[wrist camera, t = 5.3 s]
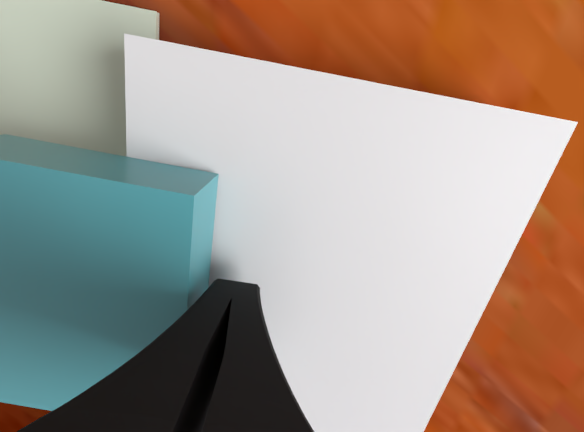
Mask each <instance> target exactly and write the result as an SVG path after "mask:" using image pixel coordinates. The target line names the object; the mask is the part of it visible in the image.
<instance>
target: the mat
mask: <svg viewBox="0 0 584 432" xmlns="http://www.w3.org/2000/svg"><path fill="white" fill-rule="evenodd" d="M124 33H125V34H130V35H135V36H140V37H145V38H150V39H156V40H159V13H158V12H156V11H151V10H147V9H142V8H137V7H132V6H127V5H122V4H117V3H112V2H107V1H102V0H0V135H2V134H8V135H13V136H19V137H24V138H29V139H35V140H40V141H45V142H51V143H56V144H62V145H67V146H72V147H78V148H83V149H88V150H94V151H99V152H104V153H110V154H115V155H120V156H126V157H127V151H126V101H125V52H124Z"/></svg>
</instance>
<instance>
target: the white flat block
mask: <svg viewBox="0 0 584 432" xmlns="http://www.w3.org/2000/svg"><path fill="white" fill-rule="evenodd" d="M124 52H125V101H126V151H127V157H131V158H136V159H142V160H147V161H153V162H158V163H163V164H169V165H174V166H179V167H185V168H190V169H195V170H201V171H206V172H211V173H217V174H219V176H218V187H217V198H216V208H215V219H214V230H213V241H212V252H211V263H210V274H209V285H208V287H209V286H210V285H211V284H212V283H213V281H215V280H216V279H218V278H219V279H226V280H232V281H239V282H246V283H252V284H257V285H258V286H259V287H260V298H261V305H262V310H263V315H264V318H265V322H266V326H267V329H268V332H269V336H270V339H271V342H272V345H273V348H274V350H275V353H276V355H277V358H278V361H279V363H280V366H281V368H282V370H283V373H284V375H285V377H286V380H287V382H288V384H289V386H290V388H291V390H292V392H293V394H294V396H295V398H296V400H297V402H298V404H299V406H300V408H301V410H302V411H303V413H304V415H305V417H306V419H307V420H308V422H309V424H310V425H311V427H312V429H313V430H314V432H424V430H425V428H426V426H427V424H428V422H429V420H430V418H431V416H432V414H433V412H434V410H435V407H436V405H437V403H438V401H439V399H440V397H441V395H442V393H443V391H444V389H445V387H446V385H447V383H448V381H449V379H450V377H451V375H452V373H453V371H454V369H455V367H456V365H457V363H458V361H459V359H460V357H461V355H462V353H463V351H464V349H465V347H466V345H467V343H468V341H469V339H470V337H471V335H472V333H473V331H474V329H475V327H476V325H477V323H478V321H479V319H480V317H481V315H482V313H483V311H484V309H485V307H486V305H487V303H488V301H489V299H490V297H491V295H492V293H493V291H494V289H495V287H496V285H497V283H498V281H499V279H500V277H501V275H502V273H503V271H504V269H505V267H506V265H507V263H508V261H509V259H510V257H511V255H512V253H513V251H514V249H515V247H516V245H517V243H518V241H519V239H520V237H521V235H522V233H523V231H524V229H525V227H526V225H527V223H528V221H529V219H530V217H531V215H532V213H533V211H534V209H535V207H536V205H537V203H538V201H539V199H540V197H541V195H542V193H543V191H544V189H545V187H546V185H547V183H548V181H549V179H550V177H551V175H552V173H553V171H554V169H555V167H556V165H557V163H558V161H559V159H560V157H561V155H562V153H563V151H564V149H565V147H566V145H567V143H568V141H569V139H570V137H571V135H572V133H573V131H574V129H575V127H576V125H577V123H578V122H574V121H569V120H563V119H558V118H553V117H548V116H543V115H538V114H533V113H528V112H523V111H518V110H512V109H507V108H502V107H497V106H492V105H487V104H482V103H477V102H472V101H467V100H461V99H456V98H451V97H446V96H441V95H436V94H431V93H426V92H421V91H416V90H410V89H405V88H400V87H395V86H390V85H385V84H380V83H375V82H370V81H365V80H360V79H354V78H349V77H344V76H339V75H334V74H329V73H324V72H319V71H314V70H309V69H303V68H298V67H293V66H288V65H283V64H278V63H273V62H268V61H263V60H258V59H252V58H247V57H242V56H237V55H232V54H227V53H222V52H217V51H212V50H207V49H201V48H196V47H191V46H186V45H181V44H176V43H171V42H166V41H161V40H156V39H150V38H145V37H140V36H135V35H130V34H125V33H124Z"/></svg>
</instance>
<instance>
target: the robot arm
mask: <svg viewBox="0 0 584 432" xmlns="http://www.w3.org/2000/svg"><path fill="white" fill-rule="evenodd" d="M17 432H314V430H313V429H312V427H311V425H310V424H309V422H308V420H307V419H306V417H305V415H304V413H303V411H302V410H301V408H300V406H299V404H298V402H297V400H296V398H295V396H294V394H293V392H292V390H291V388H290V386H289V384H288V382H287V380H286V377H285V375H284V373H283V370H282V368H281V366H280V363H279V361H278V358H277V355H276V353H275V350H274V348H273V345H272V342H271V339H270V336H269V332H268V329H267V326H266V322H265V318H264V315H263V310H262V305H261V298H260V287H259V286H258V285H257V284H252V283H246V282H239V281H232V280H226V279H219V278H218V279H216V280H215V281H213V283H212V284H211V285H210V286H209V287H208V289H207V290H206V291H205V292H204V293H203V294H202V295H201V296H200V298H199V299H198V300H197V301H196V302H195V303H194V304H193V305H192V306H191V307H190V308H189V309H188V310H187V311H186V312H185V313H184V314H183V315H182V316H181V317H180V318H179V319H178V320H176V321H175V322H174V323H173V324H172V325H171V326H170V327H169V328H168V329H166V330H165V331H164V332H163V333H162V334H161V335H159V336H158V337H157V338H156V339H155V340H154V341H153V342H151V343H150V344H149V345H148V346H146V347H145V348H144V349H143V350H141V351H140V352H139V353H138V354H136V355H135V356H134V357H132V358H131V359H130V360H128V361H127V362H126V363H124V364H123V365H122V366H120V367H119V368H118V369H116V370H115V371H113V372H112V373H110V374H109V375H108V376H106V377H105V378H103V379H102V380H100V381H99V382H97V383H96V384H94V385H93V386H91V387H90V388H88V389H87V390H85V391H84V392H82V393H81V394H79V395H78V396H76V397H74V398H73V399H71V400H70V401H68V402H66V403H65V404H63V405H62V406H60V407H58V408H56V409H55V410H53V411H51V412H50V413H48V414H46V415H44V416H43V417H41V418H39V419H38V420H36V421H34V422H32V423H31V424H29V425H27V426H26V427H24V428H22V429H20V430H19V431H17Z"/></svg>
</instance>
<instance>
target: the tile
mask: <svg viewBox="0 0 584 432" xmlns="http://www.w3.org/2000/svg"><path fill="white" fill-rule="evenodd" d="M218 176H219V174H217V173H211V172H206V171H201V170H195V169H190V168H185V167H179V166H174V165H169V164H163V163H158V162H153V161H147V160H142V159H136V158H131V157H126V156H120V155H115V154H110V153H104V152H99V151H94V150H88V149H83V148H78V147H72V146H67V145H62V144H56V143H51V142H45V141H40V140H35V139H29V138H24V137H19V136H13V135H8V134H2V135H0V402H3V403H9V404H15V405H21V406H26V407H32V408H38V409H44V410H49V411H53V410H55V409H56V408H58V407H60V406H62V405H63V404H65V403H66V402H68V401H70V400H71V399H73V398H74V397H76V396H78V395H79V394H81V393H82V392H84V391H85V390H87V389H88V388H90V387H91V386H93V385H94V384H96V383H97V382H99V381H100V380H102V379H103V378H105V377H106V376H108V375H109V374H110V373H112V372H113V371H115V370H116V369H118V368H119V367H120V366H122V365H123V364H124V363H126V362H127V361H128V360H130V359H131V358H132V357H134V356H135V355H136V354H138V353H139V352H140V351H141V350H143V349H144V348H145V347H146V346H148V345H149V344H150V343H151V342H153V341H154V340H155V339H156V338H157V337H158V336H159V335H161V334H162V333H163V332H164V331H165V330H166V329H168V328H169V327H170V326H171V325H172V324H173V323H174V322H175V321H176V320H178V319H179V318H180V317H181V316H182V315H183V314H184V313H185V312H186V311H187V310H188V309H189V308H190V307H191V306H192V305H193V304H194V303H195V302H196V301H197V300H198V299H199V298H200V296H201V295H202V294H203V293H204V292H205V291H206V290H207V289H208V285H209V274H210V263H211V252H212V241H213V230H214V219H215V208H216V198H217V187H218Z"/></svg>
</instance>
